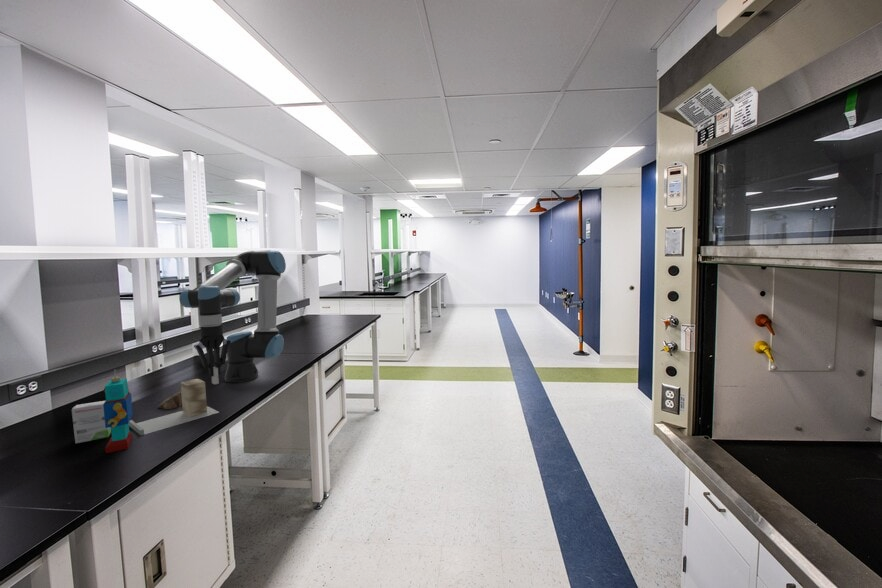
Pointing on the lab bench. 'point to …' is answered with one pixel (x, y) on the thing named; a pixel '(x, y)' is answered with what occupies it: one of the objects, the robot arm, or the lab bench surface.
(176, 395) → the rock
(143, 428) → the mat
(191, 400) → the block
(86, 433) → the ink box
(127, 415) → the toy robot
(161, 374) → the lab bench surface
